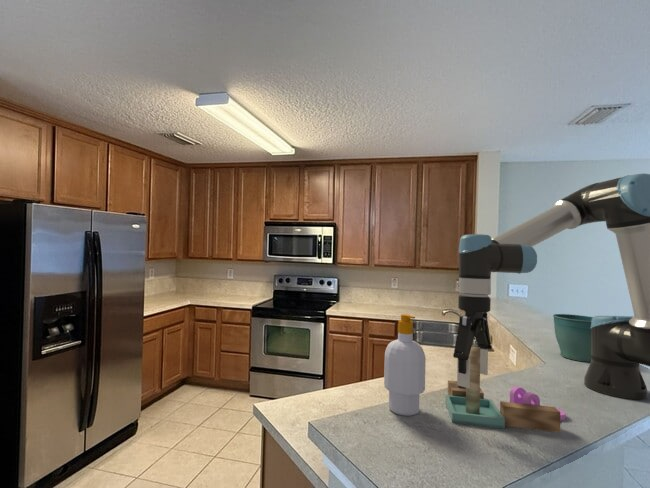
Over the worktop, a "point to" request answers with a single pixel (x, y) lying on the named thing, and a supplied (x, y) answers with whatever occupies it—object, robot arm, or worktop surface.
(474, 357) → the dowel
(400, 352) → the soap bottle
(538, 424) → the block
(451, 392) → the socket block
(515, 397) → the bracket
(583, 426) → the worktop surface
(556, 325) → the flower pot
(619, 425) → the worktop surface
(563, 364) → the worktop surface
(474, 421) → the tray
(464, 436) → the worktop surface
